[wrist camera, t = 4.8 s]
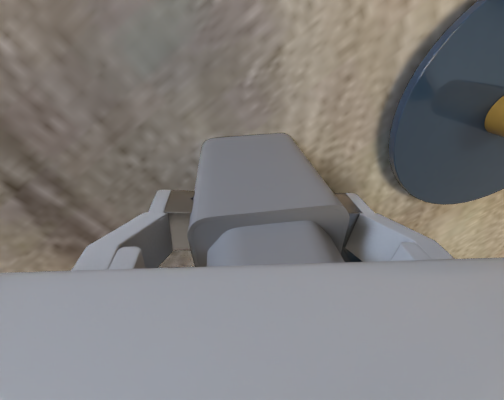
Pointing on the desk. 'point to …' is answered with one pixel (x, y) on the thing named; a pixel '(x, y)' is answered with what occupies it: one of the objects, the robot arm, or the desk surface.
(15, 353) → the robot arm
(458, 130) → the lid
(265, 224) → the power adapter
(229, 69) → the desk surface
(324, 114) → the desk surface
